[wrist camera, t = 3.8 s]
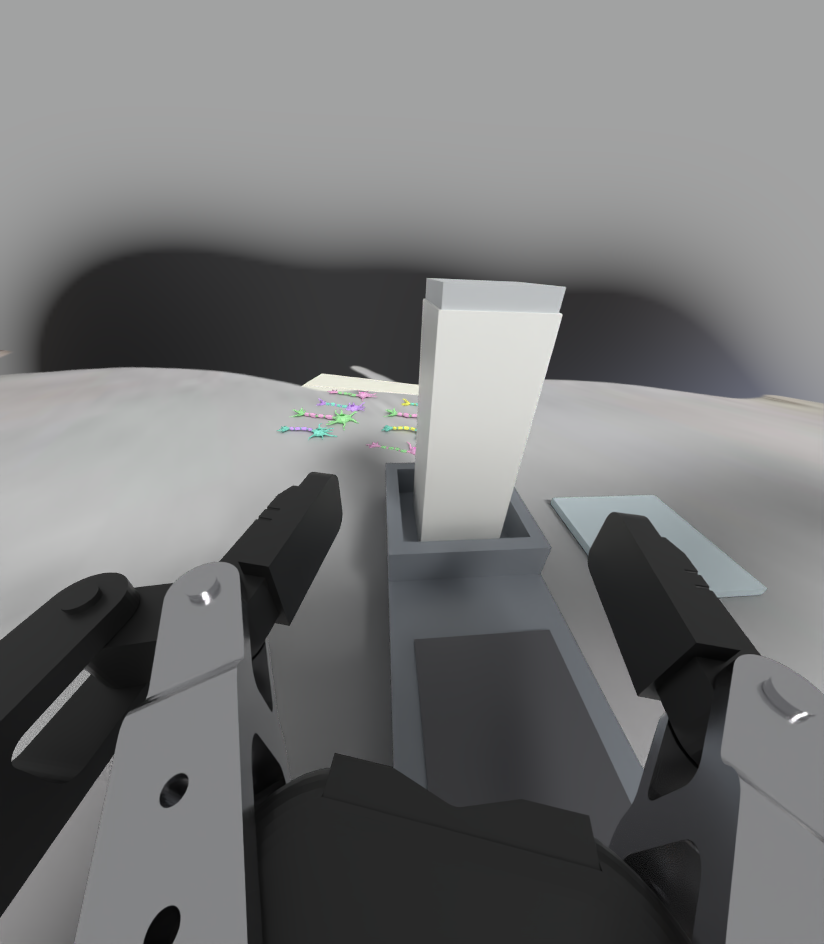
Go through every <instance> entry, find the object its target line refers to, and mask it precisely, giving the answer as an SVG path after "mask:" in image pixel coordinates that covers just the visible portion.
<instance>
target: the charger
mask: <svg viewBox="0 0 824 944" xmlns="http://www.w3.org/2000/svg"><path fill="white" fill-rule="evenodd" d="M565 288H566V287H560V286H551V285H542V284H532V283H523V282H506V281H482V280H457V279H434V278H427V284H426V299H423V314H422V335H421V353H420V354H421V355H420V373H419V393H418V412H417V432H416V452H415V472H414V492H413V505H414V512H415V519H416V526H417V533H418V540H419V542H423V541H447V540H471V539H495V538H500V535H501V531H502V528H503V524H504V521H505V517H506V514H507V510H508V507H509V503H510V499H511V496H512V492H513V489H514V485H515V482H516V478H517V475H518V471H519V467H520V464H521V460H522V457H523V453H524V450H525V446H526V443H527V439H528V436H529V432H530V428H531V425H532V421H533V418H534V414H535V411H536V407H537V404H538V400H539V397H540V393H541V389H542V386H543V382H544V379H545V375H546V372H547V368H548V365H549V361H550V357H551V354H552V350H553V347H554V343H555V340H556V336H557V333H558V329H559V325H560V322H561V318H562V314H561V313H559V310H560V307H561V303H562V299H563V296H564V292H565Z"/></svg>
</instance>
